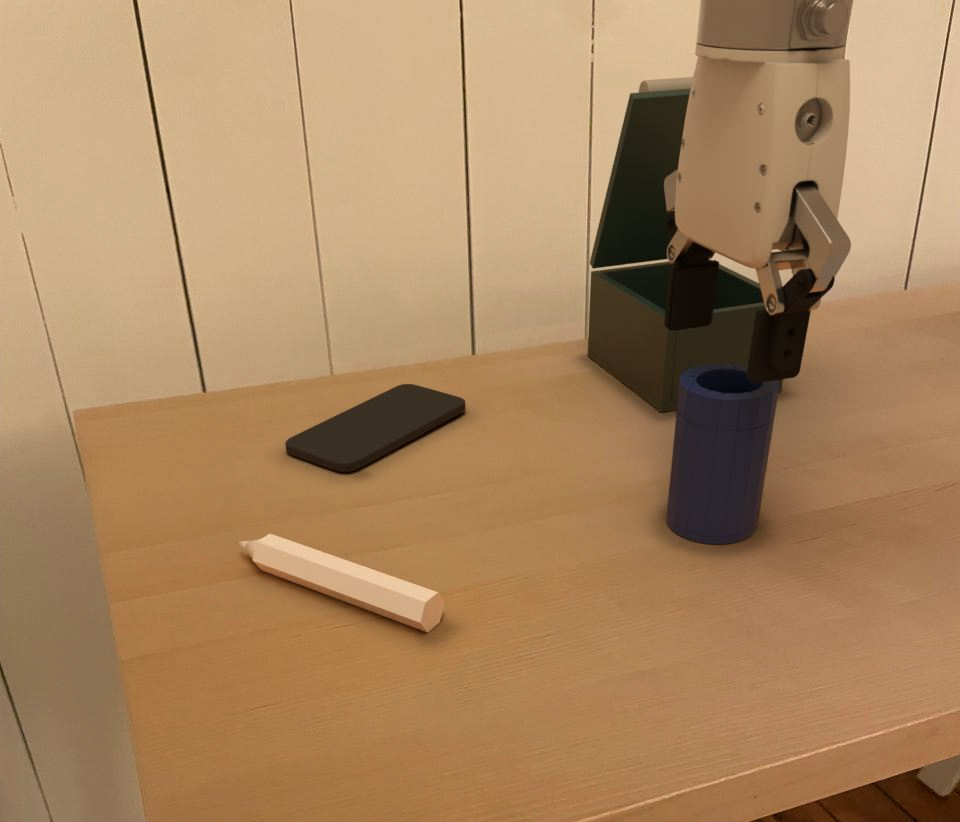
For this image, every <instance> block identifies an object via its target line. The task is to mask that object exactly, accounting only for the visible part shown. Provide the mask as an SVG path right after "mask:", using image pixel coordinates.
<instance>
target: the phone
mask: <svg viewBox="0 0 960 822" xmlns="http://www.w3.org/2000/svg"><path fill="white" fill-rule="evenodd" d="M465 411H466V400H465V399H464V398H462V397H460V396H457V395H454V394H450V393H446V392H442V391H440V390H436V389H432V388H428V387H425V386H421V385H418V384H415V383H414V384H412V383H404V384H403V383H401V384H399V385H396V386H394V387H392V388H390V389H388V390H386V391H384V392H382V393H379V394H378V395H375V396H373V397H371V398H369V399H367V400H365V401H363V402H361V403H359V404H356V405H355V406H352V407H351V408H349V409H347V410H344V411H342V412H340V413H338V414H336V415H333V416H332V417H330V418H328V419H326V420H323V421H322V422H320V423H318V424H316V425H313V426H311V427H309V428H307V429H305V430H303V431H301V432H299V433H297V434H294V435H292V436H291V437H289V438H288V439H286V441H285V443H284V446H285V451H286V453H287V454H289V455H291V456H294V457H297V458H299V459H302V460H305V461H308V462H311V463H312V464H316V465H318V466H321V467H324V468H327V469H330V470H333V471H336V472H340V473H349V472H354V471H356V470H358V469H361V468H362V467H365V466H366V465H368V464H370V463H372V462H374V461H376V460H377V459H380V458H381V457H383V456H385V455H386V454H388V453H391V452H393V451H394V450H396V449H398V448H400V447H401V446H403V445H405V444H407V443H409V442H410V441H413V440H414V439H416V438H418V437H420V436H422V435H424V434H425V433H427V432H429V431H431V430H433V429H435V428H436V427H438V426H440V425H442V424H445V422H447V421H450V420H451V419H453V418H455V417H457V416H458V415H460V414H462V413H463V412H465Z"/></svg>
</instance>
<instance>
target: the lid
mask: <svg viewBox="0 0 960 822" xmlns="http://www.w3.org/2000/svg"><path fill="white" fill-rule="evenodd" d="M692 80H693V76H685V77H684V76H683V77H673V78H672V77H671V78H659V79H658V78H657V79H646V80H645V79H644V80H642V81H641V82H640V84H639V87H638V92H630V93H629V96H628V101H627V104H626V109H625V113H624V117H623V121H622V125H621V126H622V127H621V130H620V134H619V139H618V142H617V147H616V151H615V154H614V155H615V156H614V159H613V163H612V167H611V172H610V176H609V181H608V185H607V189H606V193H605V197H604V201H603V205H602V209H601V214H600V217H599V222H598V226H597V231H596V235H595V239H594V242H593V247H592V251H591V256H590V260H589V265H590V266H591V269H601V268H609V267H617V266H625V265H632V264H639V263H641V264H642V263H648V262H655V261H662V260H663V261H664V260H668V258H667V247H668V245H669V243H670V242H671V241H670V238H669V235H668V231H667V228H666V225H665V221H666V215H667V213H668V212H669V211H668V212H667V207H666V199H665V191H664V181H665V178H666V177H667V176H668V175H670V174H671V173H673V172H674V171H675V170H677V169H678V165H679V157H680V150H681V143H682V137H683V130H684V124H685V117H686V111H687V106H688V100H689V95H690V90H691V85H692Z"/></svg>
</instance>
